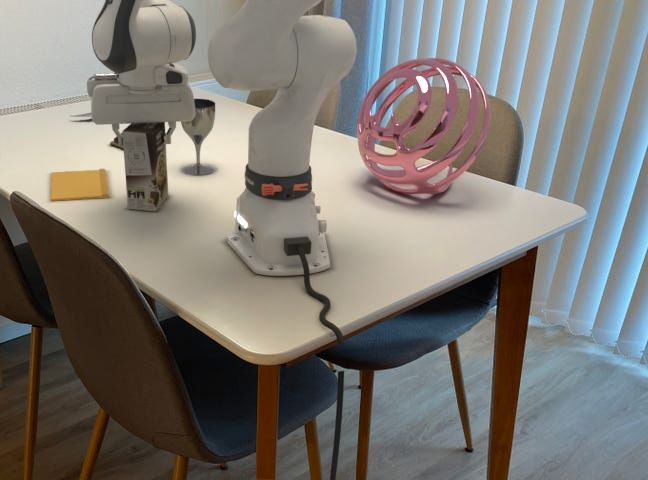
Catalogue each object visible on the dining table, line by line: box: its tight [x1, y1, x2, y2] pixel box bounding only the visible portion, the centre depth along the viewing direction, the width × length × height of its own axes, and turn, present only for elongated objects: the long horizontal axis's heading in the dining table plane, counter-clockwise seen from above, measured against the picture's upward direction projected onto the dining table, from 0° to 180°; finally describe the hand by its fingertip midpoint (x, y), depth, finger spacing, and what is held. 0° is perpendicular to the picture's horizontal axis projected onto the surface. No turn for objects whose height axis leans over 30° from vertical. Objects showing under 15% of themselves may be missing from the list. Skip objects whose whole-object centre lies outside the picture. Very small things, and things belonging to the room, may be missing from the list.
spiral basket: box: [356, 57, 492, 196], centre depth 164 cm, size 28×28×27 cm
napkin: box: [50, 168, 110, 202], centre depth 168 cm, size 16×12×1 cm
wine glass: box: [180, 98, 216, 176], centre depth 173 cm, size 8×8×15 cm
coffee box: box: [121, 122, 169, 212], centre depth 156 cm, size 9×6×16 cm
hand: (145, 144), depth 154 cm, fingers closed on coffee box, 7 cm apart
